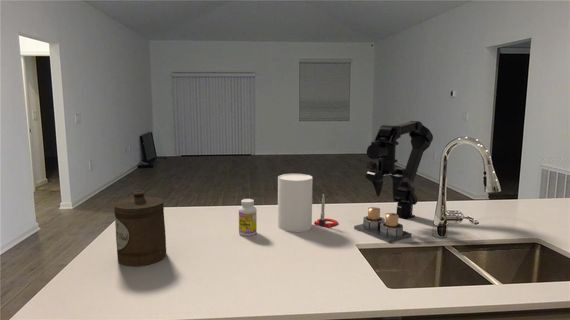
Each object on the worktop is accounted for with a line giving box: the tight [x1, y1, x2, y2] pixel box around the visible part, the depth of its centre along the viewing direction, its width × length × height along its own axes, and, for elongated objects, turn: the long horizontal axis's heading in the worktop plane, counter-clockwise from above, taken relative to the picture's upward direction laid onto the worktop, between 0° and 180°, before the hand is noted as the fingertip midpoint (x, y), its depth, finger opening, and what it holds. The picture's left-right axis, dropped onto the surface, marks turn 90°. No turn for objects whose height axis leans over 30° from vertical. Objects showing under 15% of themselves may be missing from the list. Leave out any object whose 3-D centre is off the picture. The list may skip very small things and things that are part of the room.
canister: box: [277, 173, 314, 233], centre depth 159 cm, size 14×14×20 cm
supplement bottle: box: [238, 198, 258, 237], centre depth 150 cm, size 7×7×13 cm
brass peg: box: [367, 206, 381, 221], centre depth 156 cm, size 4×4×7 cm
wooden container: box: [113, 189, 167, 267], centre depth 127 cm, size 15×15×22 cm
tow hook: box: [313, 193, 338, 228], centre depth 163 cm, size 8×13×9 cm
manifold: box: [353, 212, 413, 244], centre depth 153 cm, size 18×12×8 cm, turn 33°
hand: (386, 194), depth 163 cm, fingers open, 9 cm apart
